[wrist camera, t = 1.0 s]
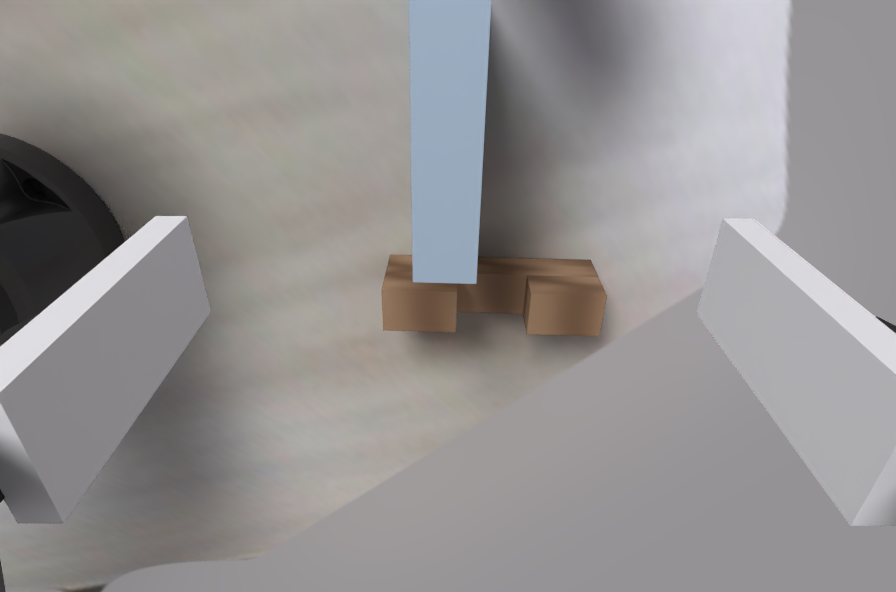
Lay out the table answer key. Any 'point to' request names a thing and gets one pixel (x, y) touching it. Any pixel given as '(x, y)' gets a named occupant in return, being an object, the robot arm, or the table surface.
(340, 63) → the table surface
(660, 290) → the table surface
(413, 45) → the pale blue upright slab
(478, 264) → the walnut u-shaped block
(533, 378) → the table surface
